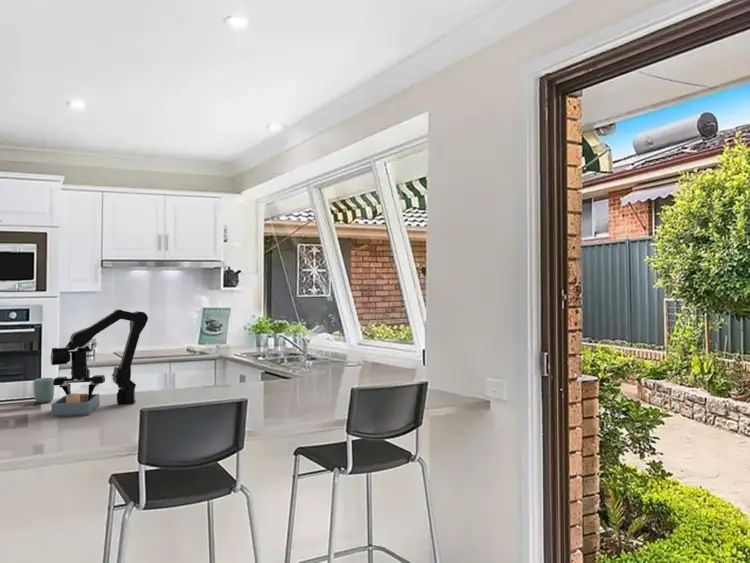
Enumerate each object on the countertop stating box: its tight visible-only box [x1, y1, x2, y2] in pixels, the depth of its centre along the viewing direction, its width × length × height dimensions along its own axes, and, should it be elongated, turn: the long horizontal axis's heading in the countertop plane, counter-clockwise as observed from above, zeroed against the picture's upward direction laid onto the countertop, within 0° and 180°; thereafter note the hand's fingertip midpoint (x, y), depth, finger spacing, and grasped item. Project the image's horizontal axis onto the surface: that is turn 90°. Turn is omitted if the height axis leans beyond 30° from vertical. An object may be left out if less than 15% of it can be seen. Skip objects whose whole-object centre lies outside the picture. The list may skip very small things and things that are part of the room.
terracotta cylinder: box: [65, 392, 81, 403], centre depth 265 cm, size 5×5×7 cm
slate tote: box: [51, 393, 101, 418], centre depth 270 cm, size 13×19×5 cm
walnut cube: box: [79, 393, 88, 402], centre depth 275 cm, size 5×5×5 cm
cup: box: [33, 377, 55, 404], centre depth 292 cm, size 8×8×10 cm
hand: (79, 401), depth 276 cm, fingers open, 7 cm apart
